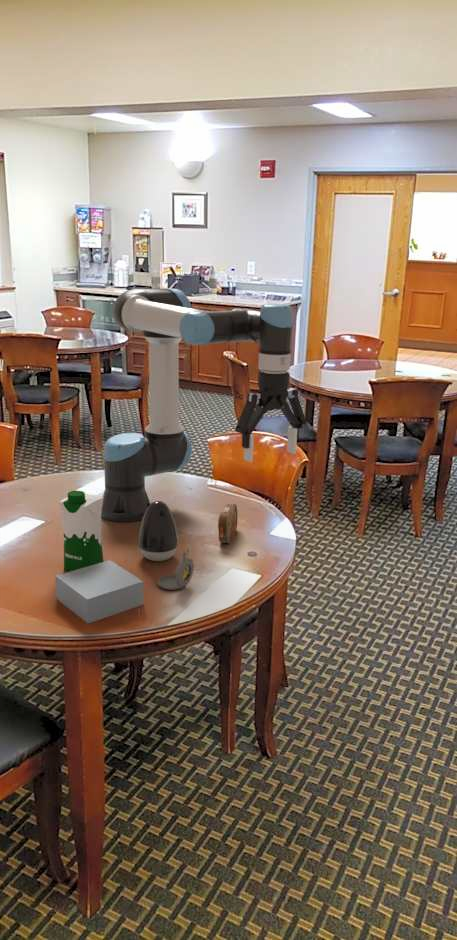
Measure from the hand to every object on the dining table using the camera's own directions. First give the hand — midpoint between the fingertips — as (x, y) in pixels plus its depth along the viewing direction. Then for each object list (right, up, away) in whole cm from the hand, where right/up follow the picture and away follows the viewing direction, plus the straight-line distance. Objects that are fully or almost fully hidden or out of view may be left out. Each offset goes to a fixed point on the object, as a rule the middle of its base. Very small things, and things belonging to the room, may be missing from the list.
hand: (270, 456), depth 178 cm
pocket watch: (-23, -31, -8) cm, 39 cm away
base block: (-39, -33, -16) cm, 54 cm away
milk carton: (-46, -28, +1) cm, 54 cm away
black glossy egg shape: (-28, -26, +8) cm, 39 cm away
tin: (-11, -22, +22) cm, 33 cm away
